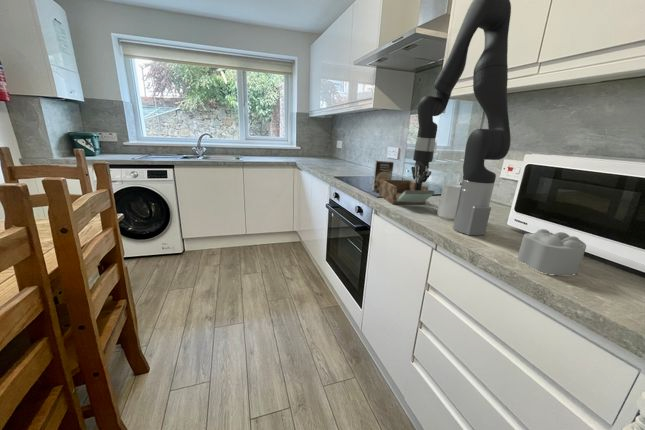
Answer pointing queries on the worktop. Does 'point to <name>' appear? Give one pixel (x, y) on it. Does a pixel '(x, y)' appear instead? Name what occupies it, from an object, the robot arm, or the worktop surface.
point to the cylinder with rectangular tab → (448, 202)
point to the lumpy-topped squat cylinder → (552, 252)
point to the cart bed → (397, 190)
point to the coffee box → (382, 173)
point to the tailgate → (415, 195)
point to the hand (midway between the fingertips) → (417, 190)
